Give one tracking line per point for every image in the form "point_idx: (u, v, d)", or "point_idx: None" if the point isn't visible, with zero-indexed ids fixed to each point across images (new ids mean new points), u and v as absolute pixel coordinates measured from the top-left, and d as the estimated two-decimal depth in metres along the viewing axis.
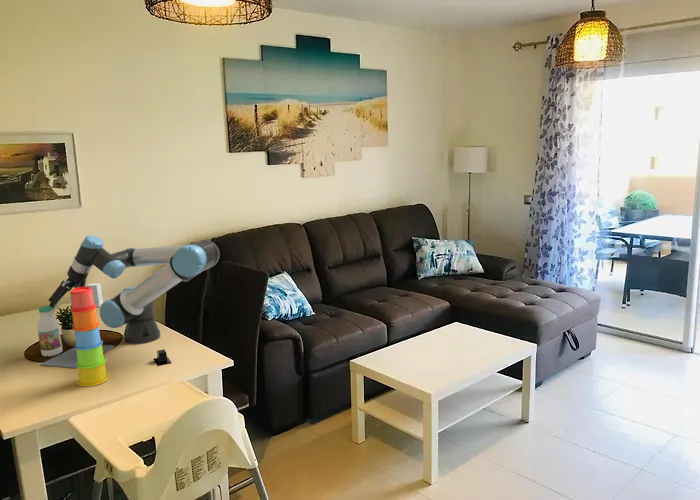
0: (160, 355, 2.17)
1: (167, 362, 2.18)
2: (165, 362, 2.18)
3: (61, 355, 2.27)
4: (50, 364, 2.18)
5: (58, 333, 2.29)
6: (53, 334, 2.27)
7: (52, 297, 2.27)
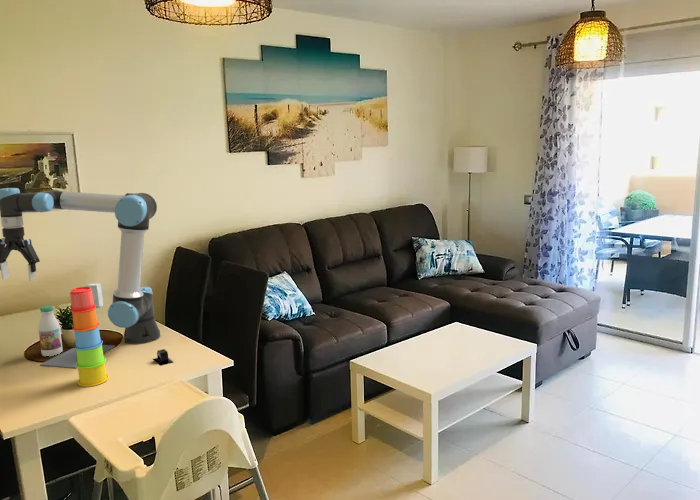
0: (162, 355, 2.18)
1: (169, 361, 2.19)
2: (167, 361, 2.18)
3: (61, 355, 2.27)
4: (50, 364, 2.18)
5: (59, 333, 2.29)
6: (54, 334, 2.27)
7: (34, 257, 2.24)
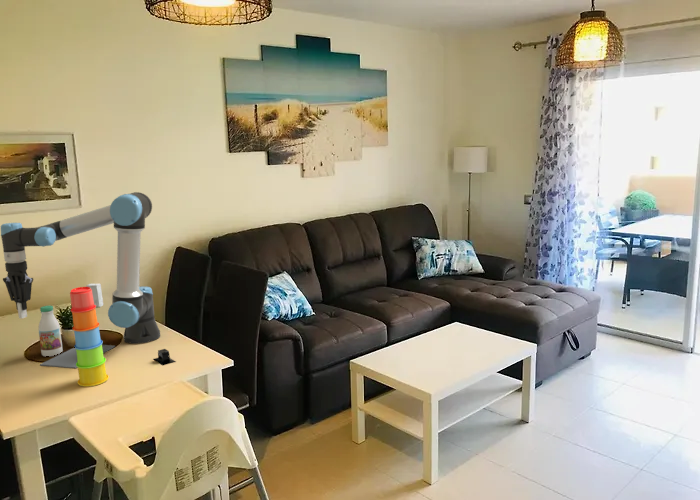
0: (163, 354, 2.18)
1: (170, 361, 2.19)
2: (168, 361, 2.19)
3: (61, 355, 2.27)
4: (50, 364, 2.18)
5: (59, 333, 2.29)
6: (54, 334, 2.27)
7: (27, 296, 2.28)
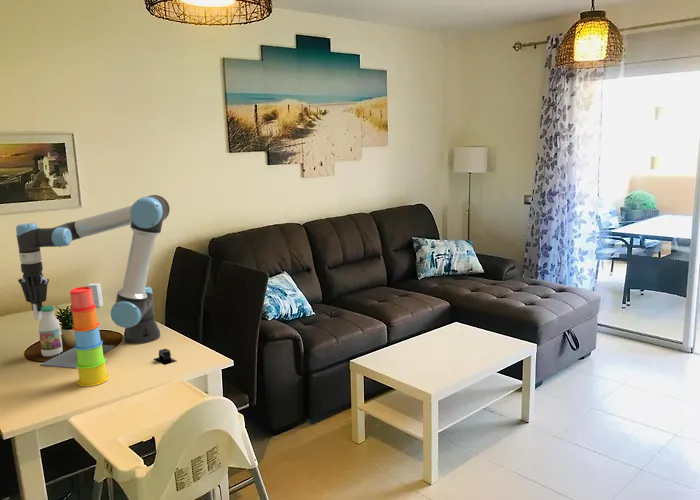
0: (164, 354, 2.18)
1: (172, 360, 2.19)
2: (170, 360, 2.19)
3: (61, 355, 2.27)
4: (50, 364, 2.18)
5: (59, 333, 2.29)
6: (54, 334, 2.27)
7: (43, 297, 2.26)
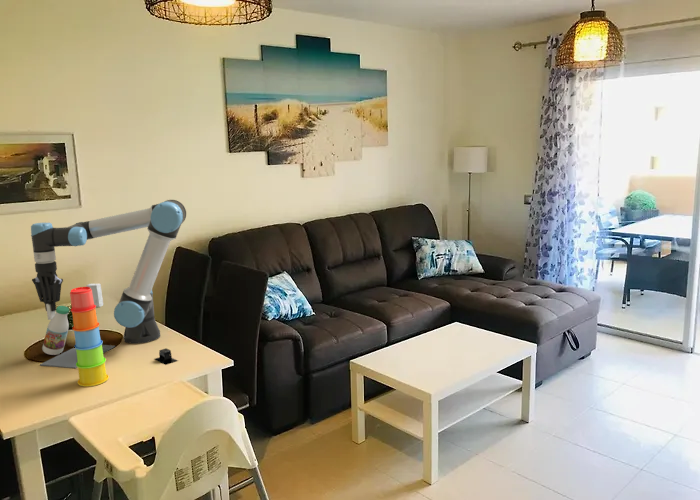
0: (165, 354, 2.19)
1: (173, 360, 2.20)
2: (171, 360, 2.20)
3: (61, 355, 2.27)
4: (50, 364, 2.18)
5: (66, 335, 2.29)
6: (61, 336, 2.26)
7: (57, 297, 2.25)
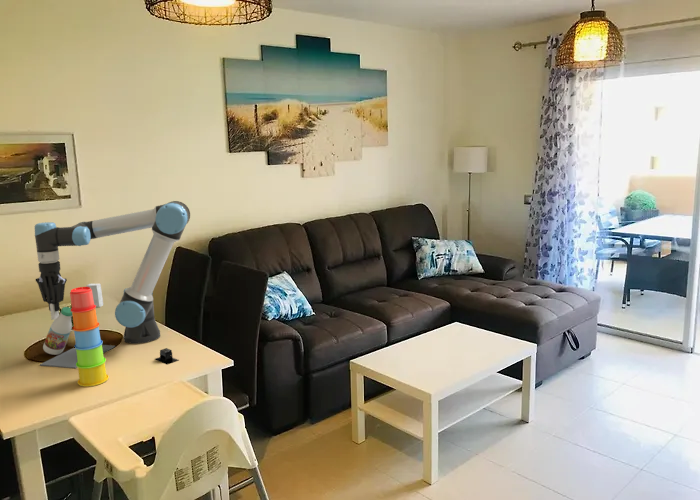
0: (166, 353, 2.19)
1: (174, 360, 2.20)
2: (172, 360, 2.20)
3: (61, 355, 2.27)
4: (50, 364, 2.18)
5: (68, 336, 2.28)
6: (63, 337, 2.26)
7: (60, 297, 2.24)
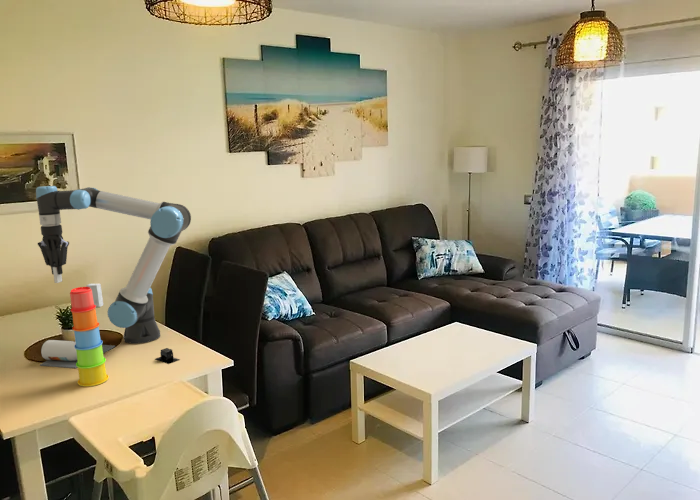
0: (167, 353, 2.19)
1: (175, 359, 2.21)
2: (173, 359, 2.20)
3: None
4: (50, 364, 2.18)
5: None
6: None
7: (63, 260, 2.26)
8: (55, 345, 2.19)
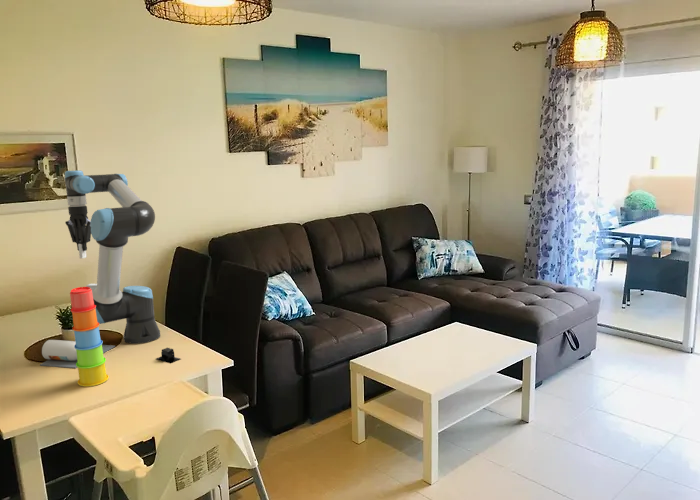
0: (169, 353, 2.20)
1: (176, 359, 2.21)
2: (174, 359, 2.21)
3: None
4: (50, 364, 2.18)
5: None
6: None
7: (88, 238, 2.50)
8: (56, 344, 2.20)
